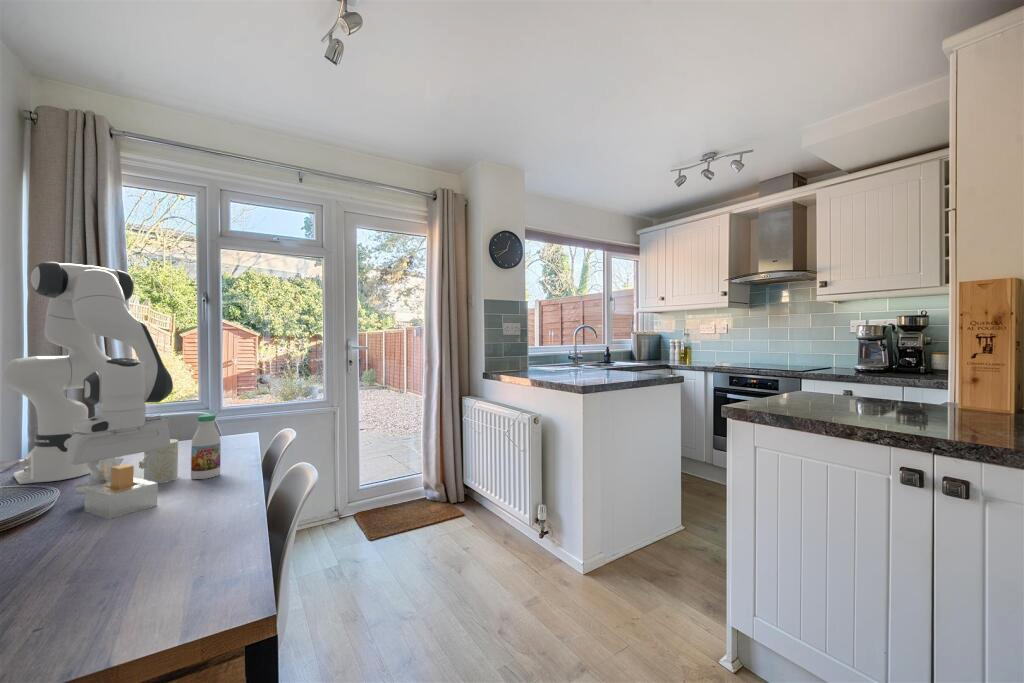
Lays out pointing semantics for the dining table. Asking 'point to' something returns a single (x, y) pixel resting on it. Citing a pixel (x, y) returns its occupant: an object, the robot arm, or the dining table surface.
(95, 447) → the robot arm
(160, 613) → the dining table surface
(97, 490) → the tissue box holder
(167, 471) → the cup
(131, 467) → the tan wooden block
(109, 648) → the dining table surface
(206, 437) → the milk bottle
